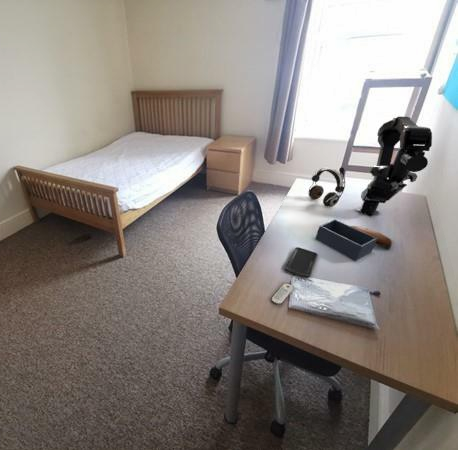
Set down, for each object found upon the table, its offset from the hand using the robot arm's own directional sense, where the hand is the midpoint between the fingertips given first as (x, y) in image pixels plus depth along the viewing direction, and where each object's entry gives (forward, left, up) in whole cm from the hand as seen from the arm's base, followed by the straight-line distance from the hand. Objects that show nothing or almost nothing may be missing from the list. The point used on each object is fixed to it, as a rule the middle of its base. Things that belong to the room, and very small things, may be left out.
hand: (386, 200), depth 111 cm
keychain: (+64, +7, -13) cm, 66 cm away
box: (+24, +1, -13) cm, 27 cm away
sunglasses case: (+12, +2, -13) cm, 18 cm away
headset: (-2, -26, -13) cm, 29 cm away
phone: (+46, 0, -13) cm, 48 cm away
